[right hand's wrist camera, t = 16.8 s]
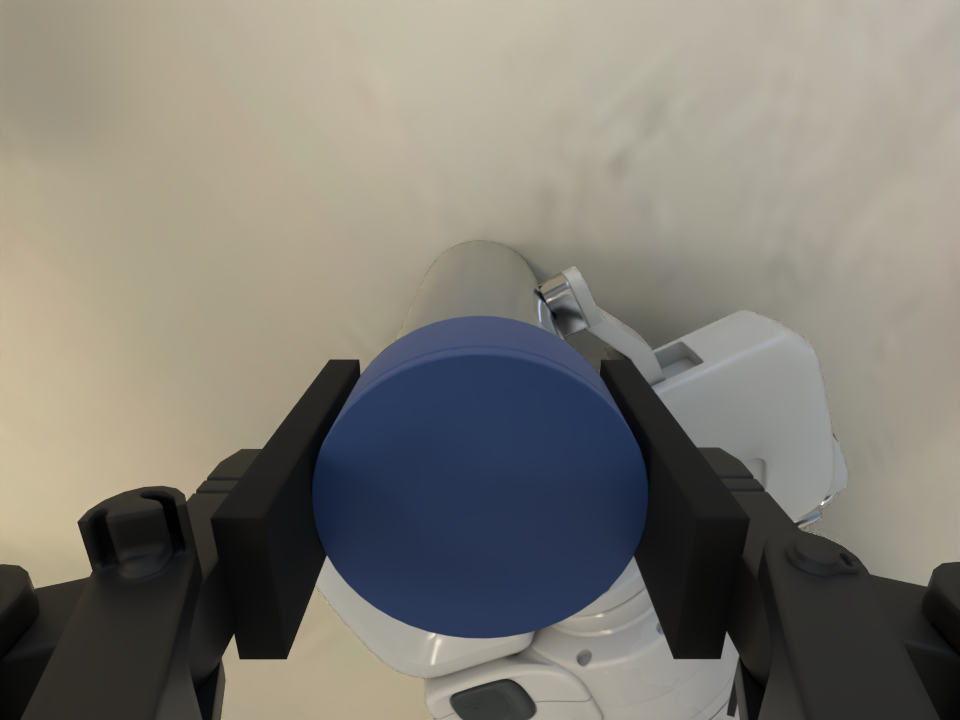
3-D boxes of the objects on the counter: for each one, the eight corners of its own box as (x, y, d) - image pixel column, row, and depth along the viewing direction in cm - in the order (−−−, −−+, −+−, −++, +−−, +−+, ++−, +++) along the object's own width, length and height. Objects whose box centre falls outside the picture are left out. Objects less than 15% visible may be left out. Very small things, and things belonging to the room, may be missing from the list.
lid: (666, 370, 12) (712, 421, 9) (554, 586, 14) (568, 671, 11) (387, 271, 11) (362, 301, 9) (312, 516, 13) (277, 591, 11)
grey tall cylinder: (442, 368, 26) (397, 623, 12) (404, 261, 24) (294, 407, 10) (552, 337, 26) (644, 565, 11) (521, 224, 24) (584, 323, 9)
